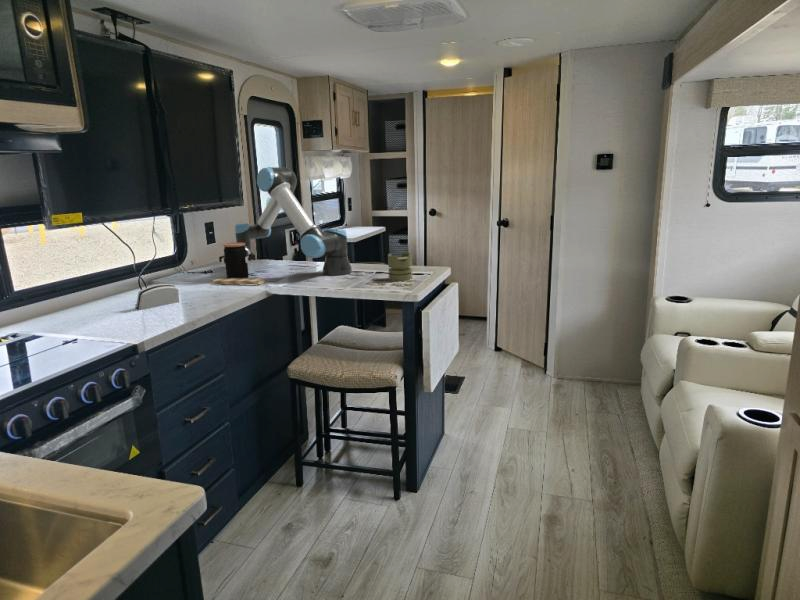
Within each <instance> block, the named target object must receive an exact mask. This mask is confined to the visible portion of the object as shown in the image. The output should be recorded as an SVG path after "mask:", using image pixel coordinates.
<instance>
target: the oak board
mask: <svg viewBox="0 0 800 600" xmlns="http://www.w3.org/2000/svg"><path fill="white" fill-rule="evenodd" d="M262 282H265V283H266V278H265V277H264V278H255V277H254V278H253V277H251V278H250V277H248V278H227V277H219V278H217V279H214V280H212V285H213V284H228V285H227V286H241V285H240V284H260V283H262ZM229 284H230V285H229Z"/></svg>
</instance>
